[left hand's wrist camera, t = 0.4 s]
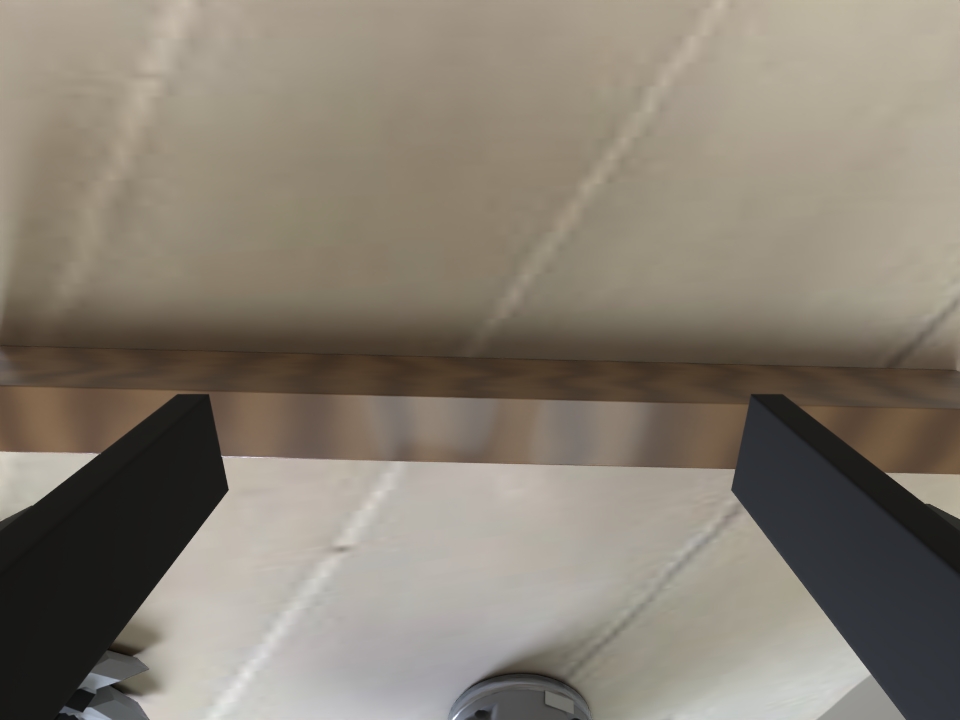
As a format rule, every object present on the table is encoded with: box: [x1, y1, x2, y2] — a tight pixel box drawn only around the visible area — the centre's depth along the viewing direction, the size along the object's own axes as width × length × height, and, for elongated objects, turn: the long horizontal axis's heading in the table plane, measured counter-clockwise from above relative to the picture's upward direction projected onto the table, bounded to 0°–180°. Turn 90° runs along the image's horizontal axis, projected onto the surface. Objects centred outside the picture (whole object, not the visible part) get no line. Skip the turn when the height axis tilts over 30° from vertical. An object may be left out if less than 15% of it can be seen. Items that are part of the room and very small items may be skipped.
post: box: [0, 346, 960, 474], centre depth 38 cm, size 75×5×7 cm, turn 88°
